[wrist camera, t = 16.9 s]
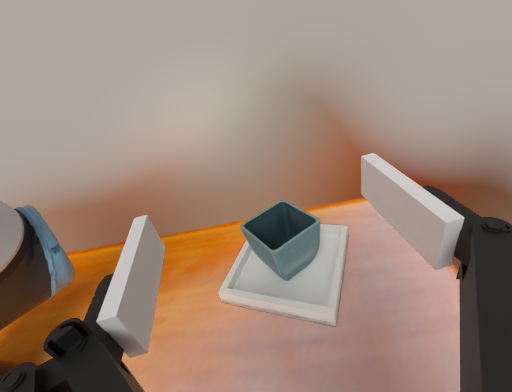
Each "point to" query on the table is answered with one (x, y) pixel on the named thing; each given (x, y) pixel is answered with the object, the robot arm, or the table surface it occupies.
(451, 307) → the table surface
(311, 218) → the flower pot
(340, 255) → the tray
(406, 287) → the table surface
